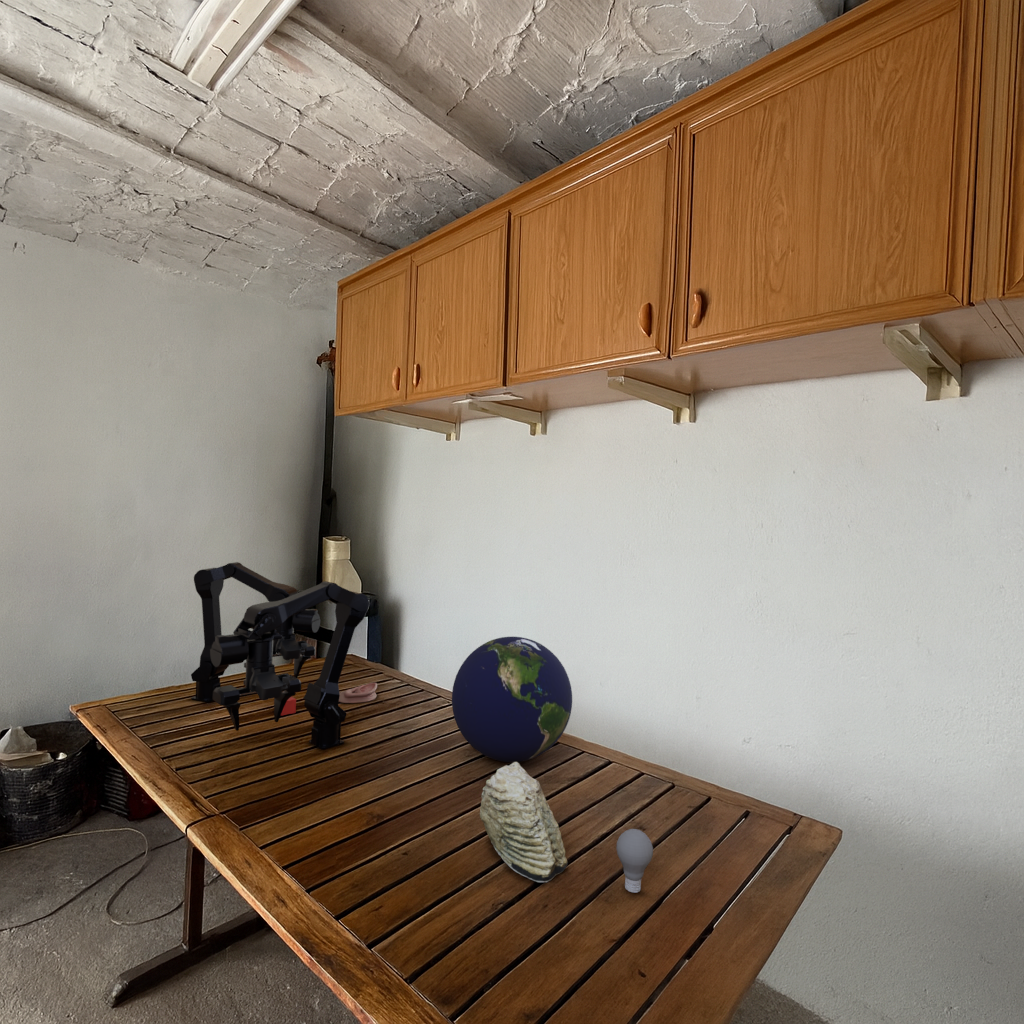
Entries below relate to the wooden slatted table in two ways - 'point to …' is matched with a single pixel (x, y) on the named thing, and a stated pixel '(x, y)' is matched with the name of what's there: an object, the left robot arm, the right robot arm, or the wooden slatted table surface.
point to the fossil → (522, 824)
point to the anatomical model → (359, 694)
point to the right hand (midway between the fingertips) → (257, 725)
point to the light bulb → (634, 857)
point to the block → (289, 706)
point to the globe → (512, 699)
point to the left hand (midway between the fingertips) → (280, 681)
